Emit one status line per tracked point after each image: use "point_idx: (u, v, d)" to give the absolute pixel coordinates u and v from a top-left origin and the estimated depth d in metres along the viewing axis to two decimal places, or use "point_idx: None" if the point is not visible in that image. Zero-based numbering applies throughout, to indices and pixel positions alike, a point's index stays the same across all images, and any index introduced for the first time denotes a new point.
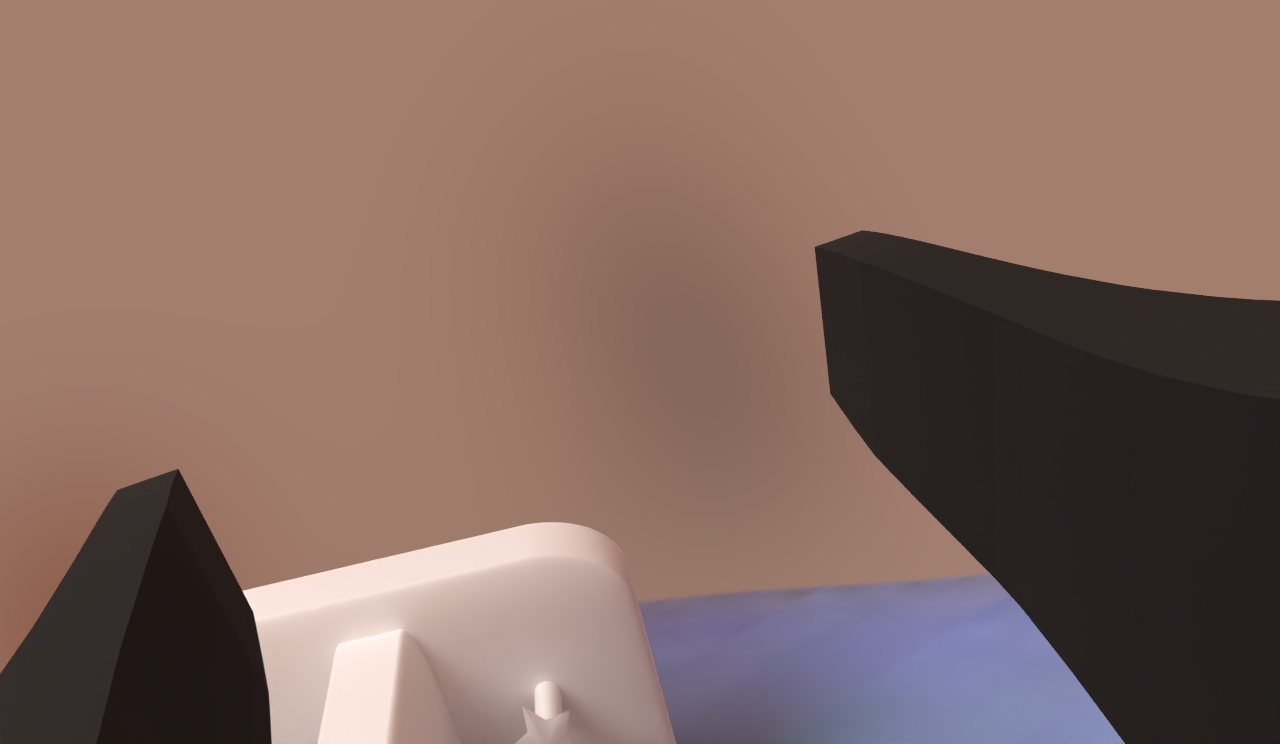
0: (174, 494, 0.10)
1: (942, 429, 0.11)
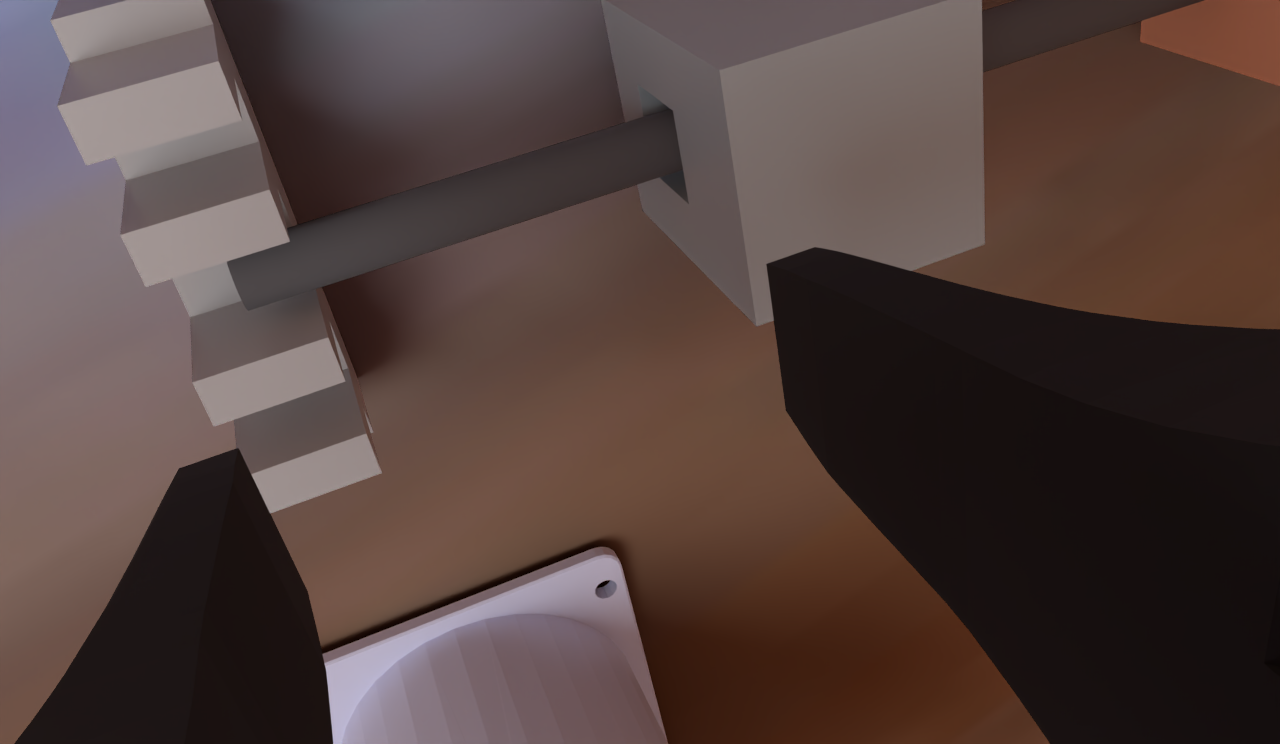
0: (238, 472, 0.11)
1: (890, 450, 0.11)
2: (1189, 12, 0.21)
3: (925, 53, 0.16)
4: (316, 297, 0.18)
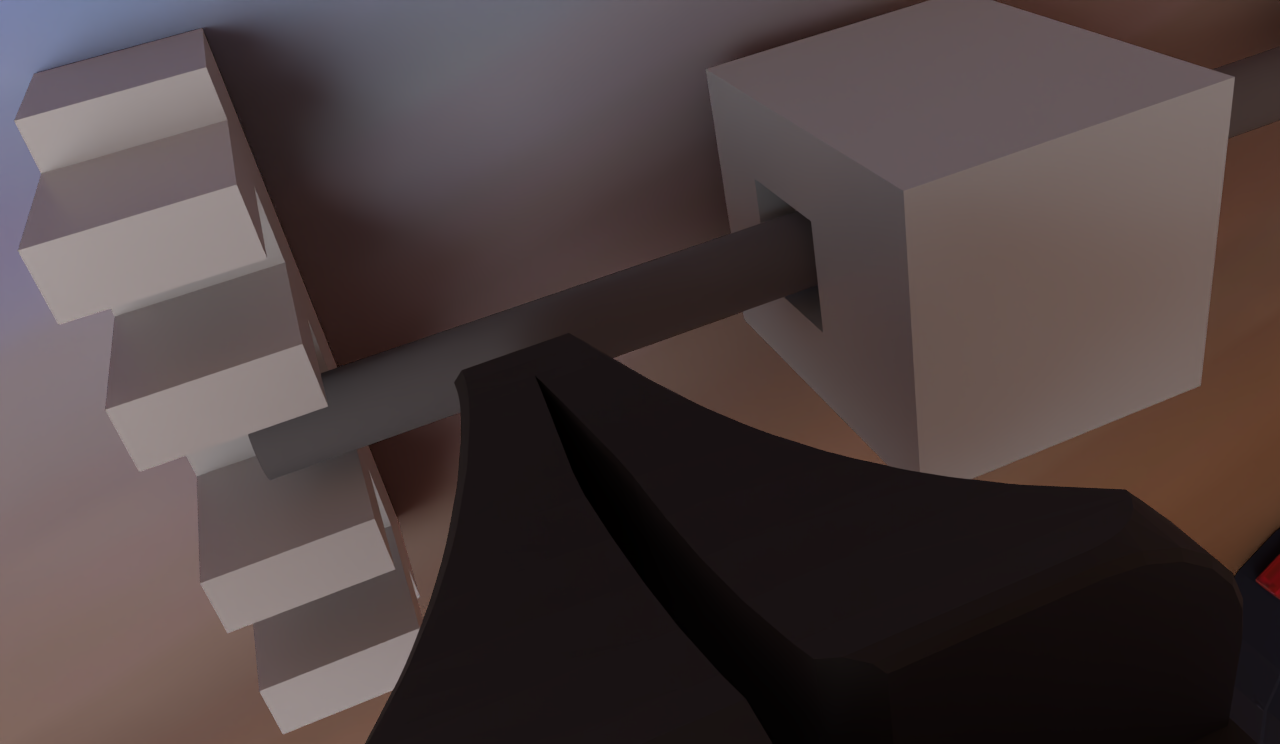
0: None
1: None
2: None
3: (1157, 159, 0.12)
4: (356, 453, 0.14)
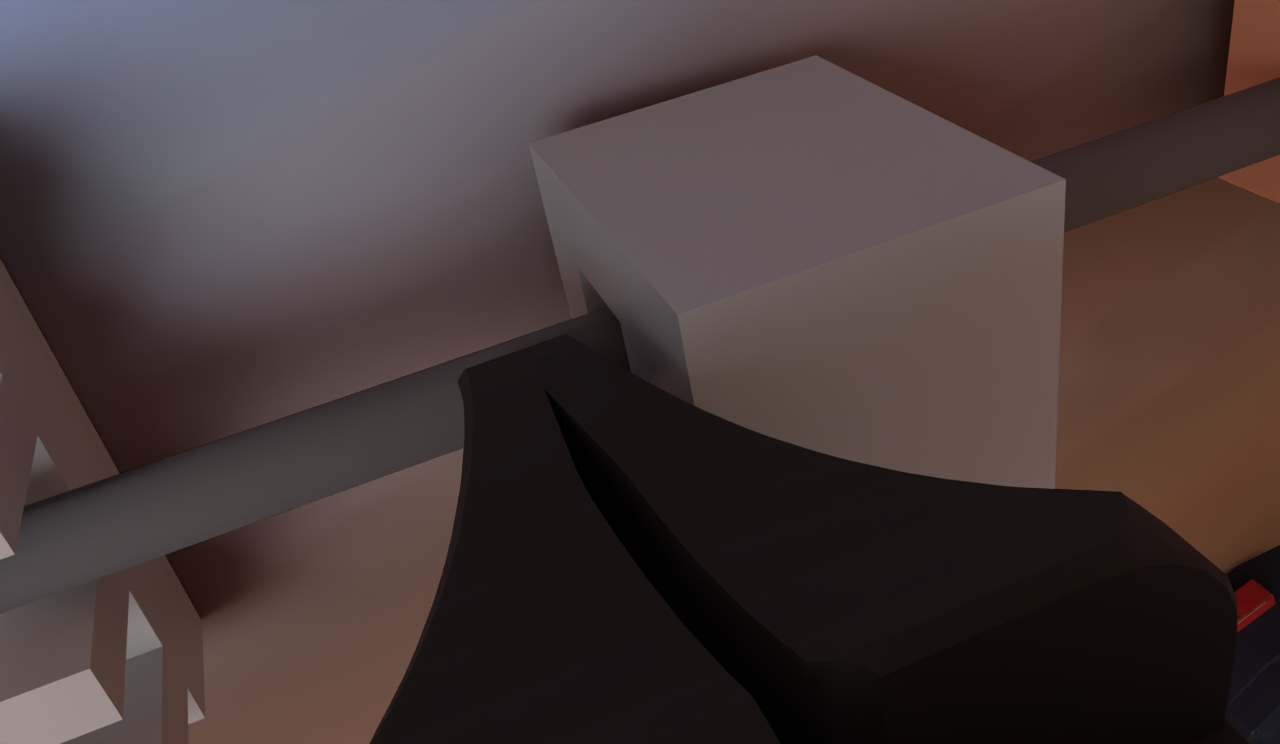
0: None
1: None
2: None
3: (982, 268, 0.11)
4: (95, 582, 0.13)
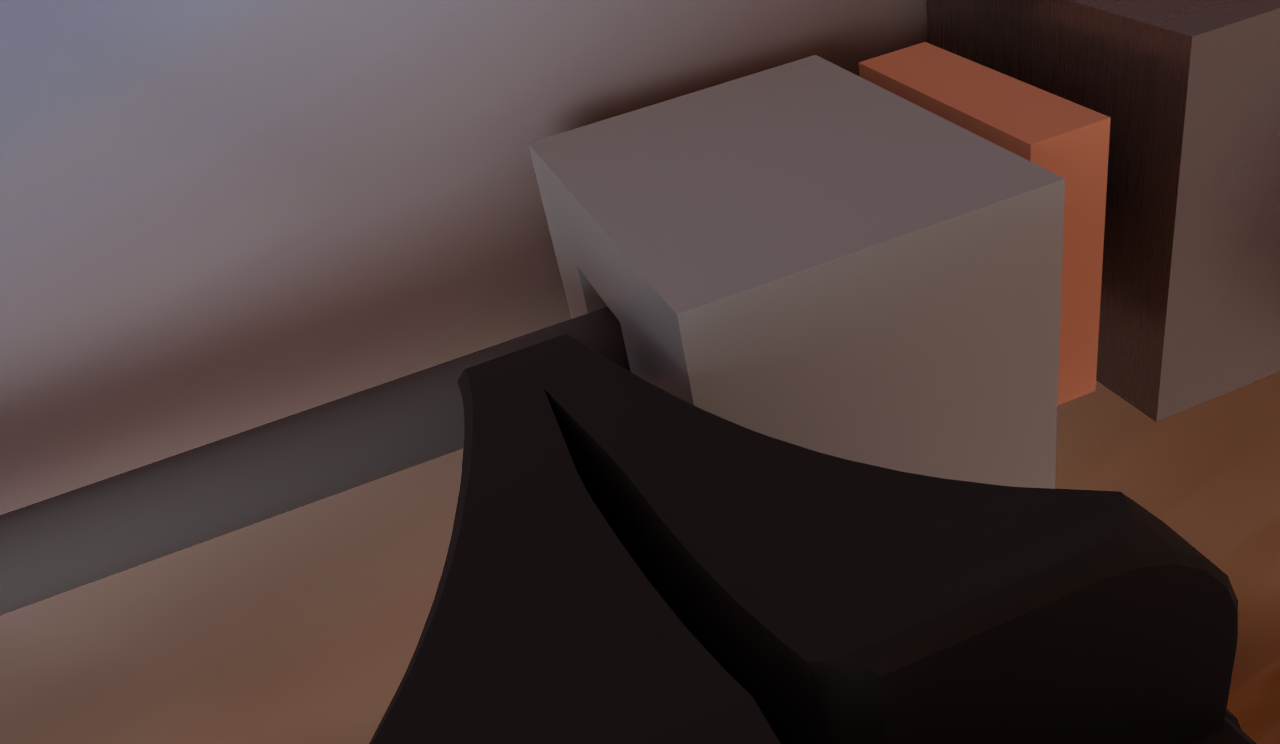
0: None
1: None
2: None
3: (981, 268, 0.11)
4: None
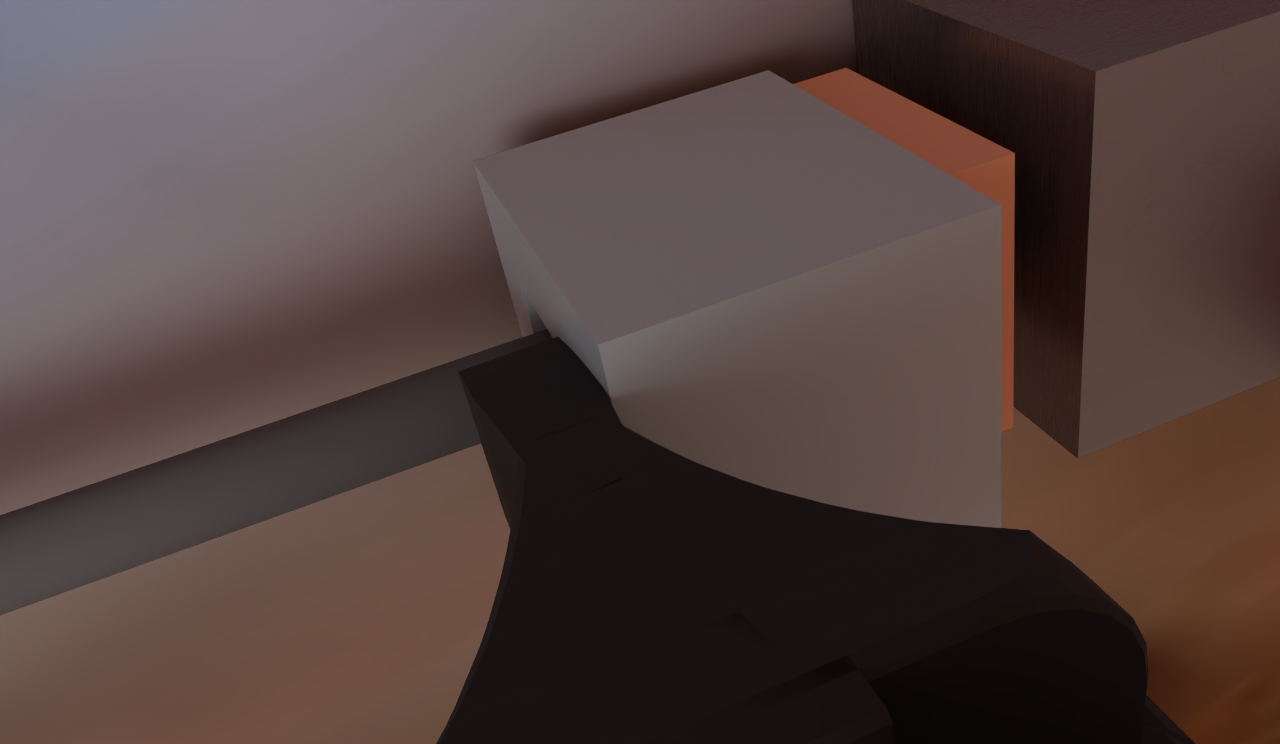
0: None
1: None
2: None
3: (916, 295, 0.10)
4: None
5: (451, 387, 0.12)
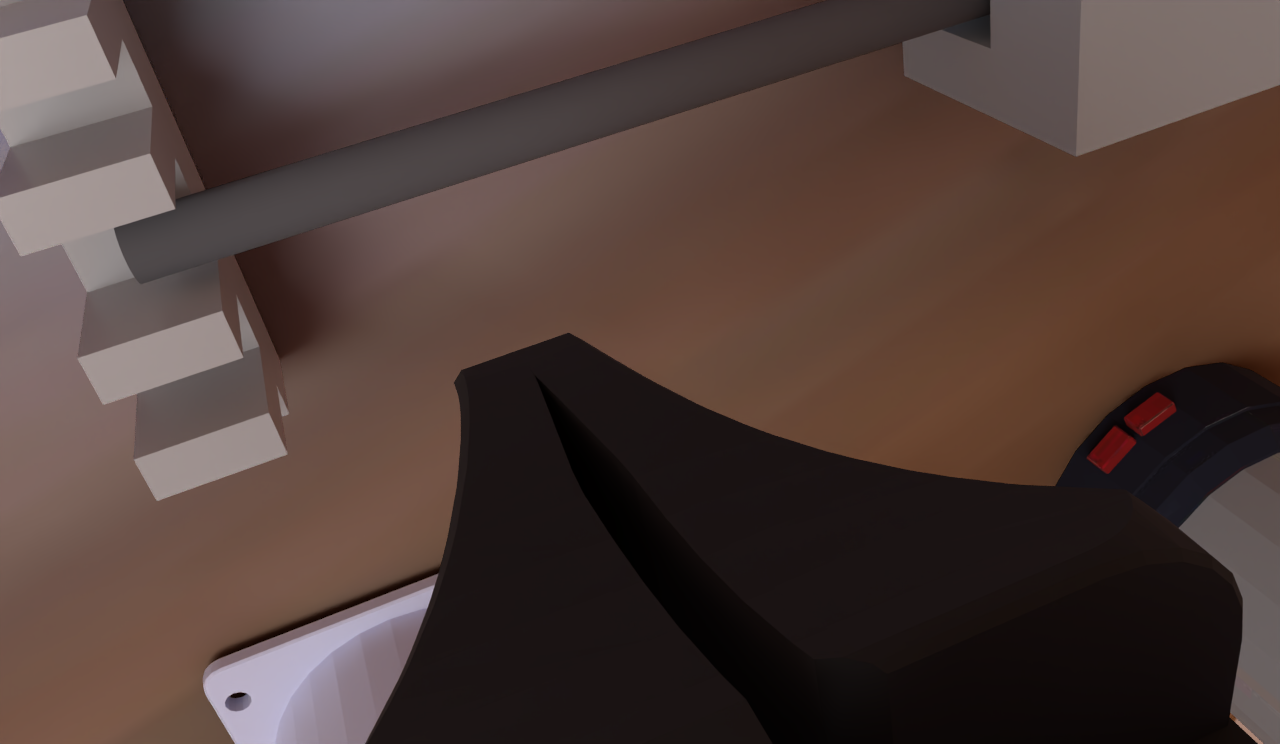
0: None
1: None
2: None
3: None
4: (217, 270, 0.17)
5: None
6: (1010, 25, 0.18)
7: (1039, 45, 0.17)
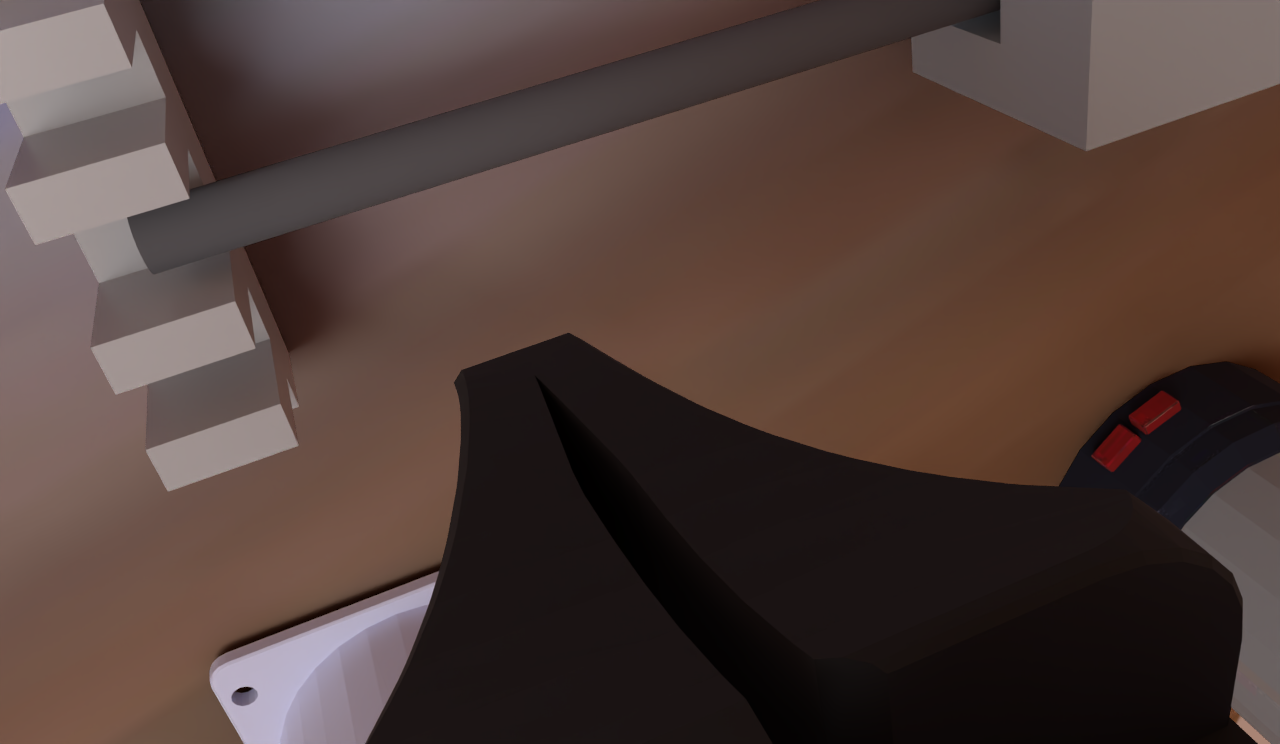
0: None
1: None
2: None
3: None
4: (229, 262, 0.17)
5: None
6: (1020, 20, 0.18)
7: (1050, 40, 0.17)
